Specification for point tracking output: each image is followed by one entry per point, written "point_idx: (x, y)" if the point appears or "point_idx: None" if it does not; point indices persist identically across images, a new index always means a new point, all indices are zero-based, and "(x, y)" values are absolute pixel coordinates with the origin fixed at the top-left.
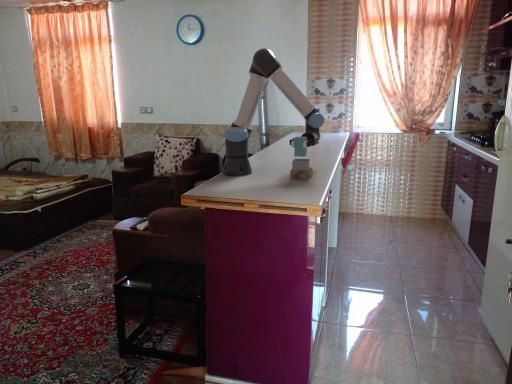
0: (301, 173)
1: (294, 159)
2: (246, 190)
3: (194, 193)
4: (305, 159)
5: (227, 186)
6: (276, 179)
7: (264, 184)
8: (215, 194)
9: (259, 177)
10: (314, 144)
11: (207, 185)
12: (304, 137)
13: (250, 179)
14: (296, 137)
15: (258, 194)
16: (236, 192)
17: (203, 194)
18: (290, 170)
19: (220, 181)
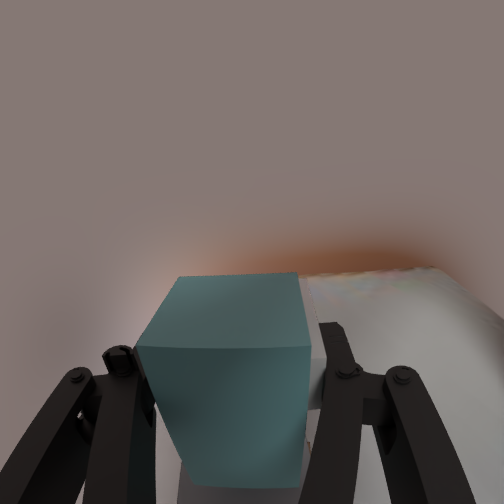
0: None
1: (306, 468)
2: (367, 309)
3: (435, 273)
4: (211, 486)
5: (436, 316)
6: (370, 440)
7: (365, 363)
8: (399, 279)
9: (459, 434)
10: (80, 417)
11: (477, 306)
12: (179, 296)
13: (459, 393)
14: (280, 285)
15: (319, 297)
16: (375, 295)
17: (417, 274)
18: (307, 442)
19: (496, 338)
